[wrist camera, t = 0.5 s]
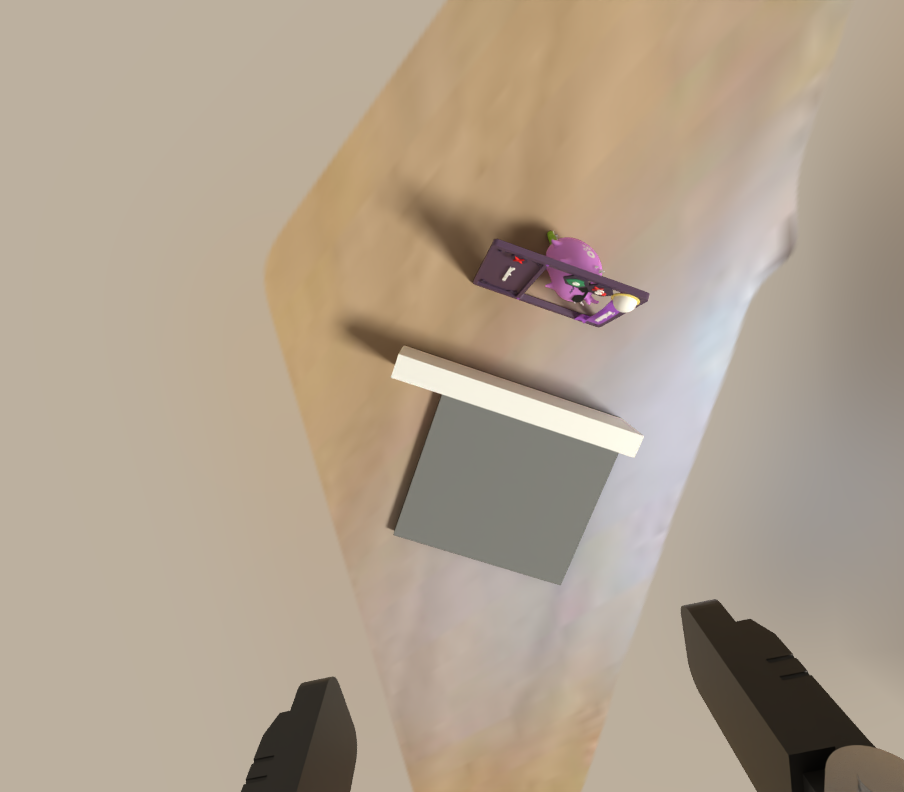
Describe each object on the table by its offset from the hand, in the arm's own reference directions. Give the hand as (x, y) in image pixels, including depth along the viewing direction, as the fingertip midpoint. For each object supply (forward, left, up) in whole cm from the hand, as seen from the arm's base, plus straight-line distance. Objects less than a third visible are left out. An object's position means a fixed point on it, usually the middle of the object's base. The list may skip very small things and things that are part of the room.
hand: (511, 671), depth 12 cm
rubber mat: (+5, +5, -24) cm, 25 cm away
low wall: (-2, +3, -24) cm, 24 cm away
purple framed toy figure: (-10, +2, -25) cm, 27 cm away
